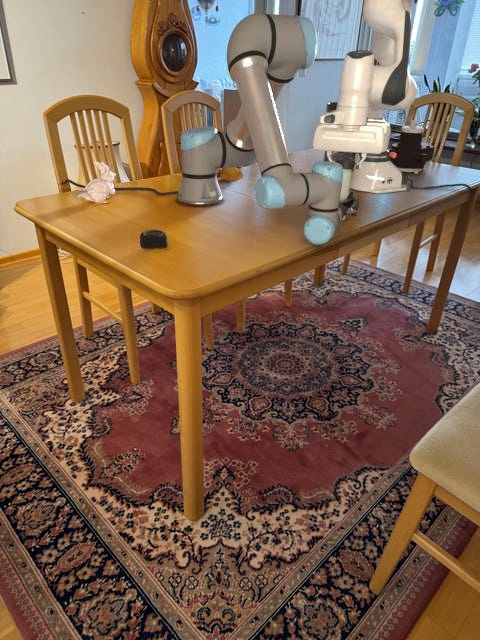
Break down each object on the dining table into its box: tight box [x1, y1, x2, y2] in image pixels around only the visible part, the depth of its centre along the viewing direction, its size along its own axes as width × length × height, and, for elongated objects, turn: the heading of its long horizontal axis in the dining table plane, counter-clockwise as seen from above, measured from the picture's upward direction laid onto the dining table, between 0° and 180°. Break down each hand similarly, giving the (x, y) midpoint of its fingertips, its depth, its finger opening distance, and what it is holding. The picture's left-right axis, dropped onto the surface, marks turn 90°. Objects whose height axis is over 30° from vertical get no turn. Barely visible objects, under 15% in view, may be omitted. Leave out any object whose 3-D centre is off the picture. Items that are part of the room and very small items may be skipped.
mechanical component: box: [388, 119, 436, 175], centre depth 204 cm, size 22×21×30 cm
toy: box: [217, 167, 244, 183], centre depth 183 cm, size 11×6×15 cm
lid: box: [335, 157, 355, 170], centre depth 134 cm, size 6×6×2 cm
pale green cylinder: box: [339, 169, 353, 222], centre depth 138 cm, size 4×4×17 cm
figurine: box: [77, 160, 117, 204], centre depth 150 cm, size 8×15×13 cm, turn 145°
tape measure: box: [139, 229, 168, 250], centre depth 117 cm, size 7×7×4 cm
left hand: (343, 195), depth 144 cm, fingers closed on pale green cylinder, 5 cm apart
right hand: (344, 167), depth 135 cm, fingers open, 6 cm apart
